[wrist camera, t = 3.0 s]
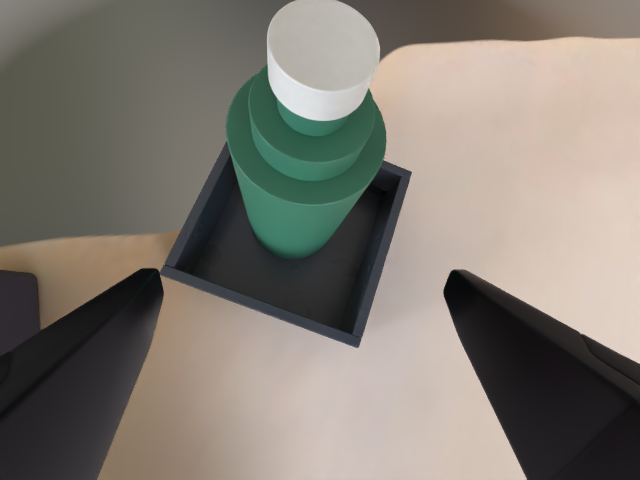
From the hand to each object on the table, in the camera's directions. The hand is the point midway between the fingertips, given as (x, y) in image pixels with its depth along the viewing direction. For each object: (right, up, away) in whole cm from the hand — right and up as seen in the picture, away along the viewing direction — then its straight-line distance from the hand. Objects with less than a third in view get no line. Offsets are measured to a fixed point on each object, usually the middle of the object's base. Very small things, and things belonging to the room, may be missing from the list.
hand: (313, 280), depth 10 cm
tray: (-2, +2, +13) cm, 13 cm away
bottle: (-2, +3, +13) cm, 13 cm away
